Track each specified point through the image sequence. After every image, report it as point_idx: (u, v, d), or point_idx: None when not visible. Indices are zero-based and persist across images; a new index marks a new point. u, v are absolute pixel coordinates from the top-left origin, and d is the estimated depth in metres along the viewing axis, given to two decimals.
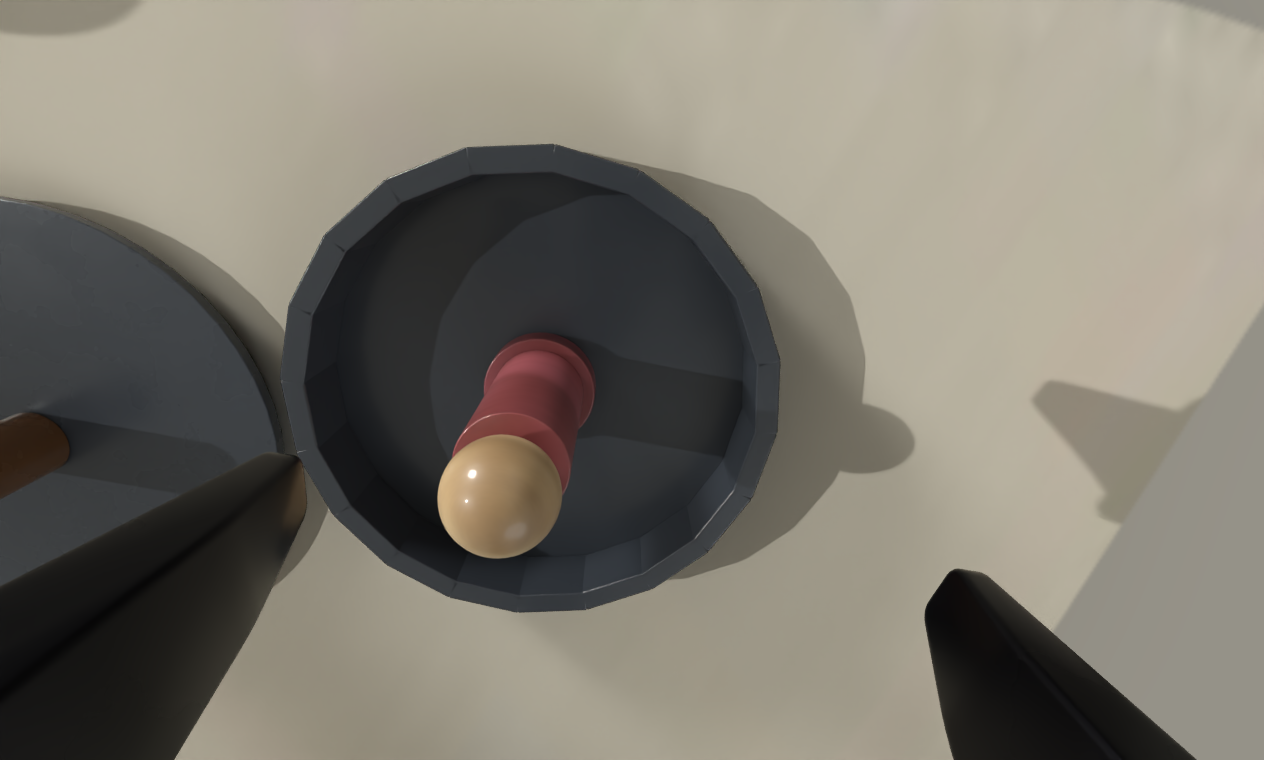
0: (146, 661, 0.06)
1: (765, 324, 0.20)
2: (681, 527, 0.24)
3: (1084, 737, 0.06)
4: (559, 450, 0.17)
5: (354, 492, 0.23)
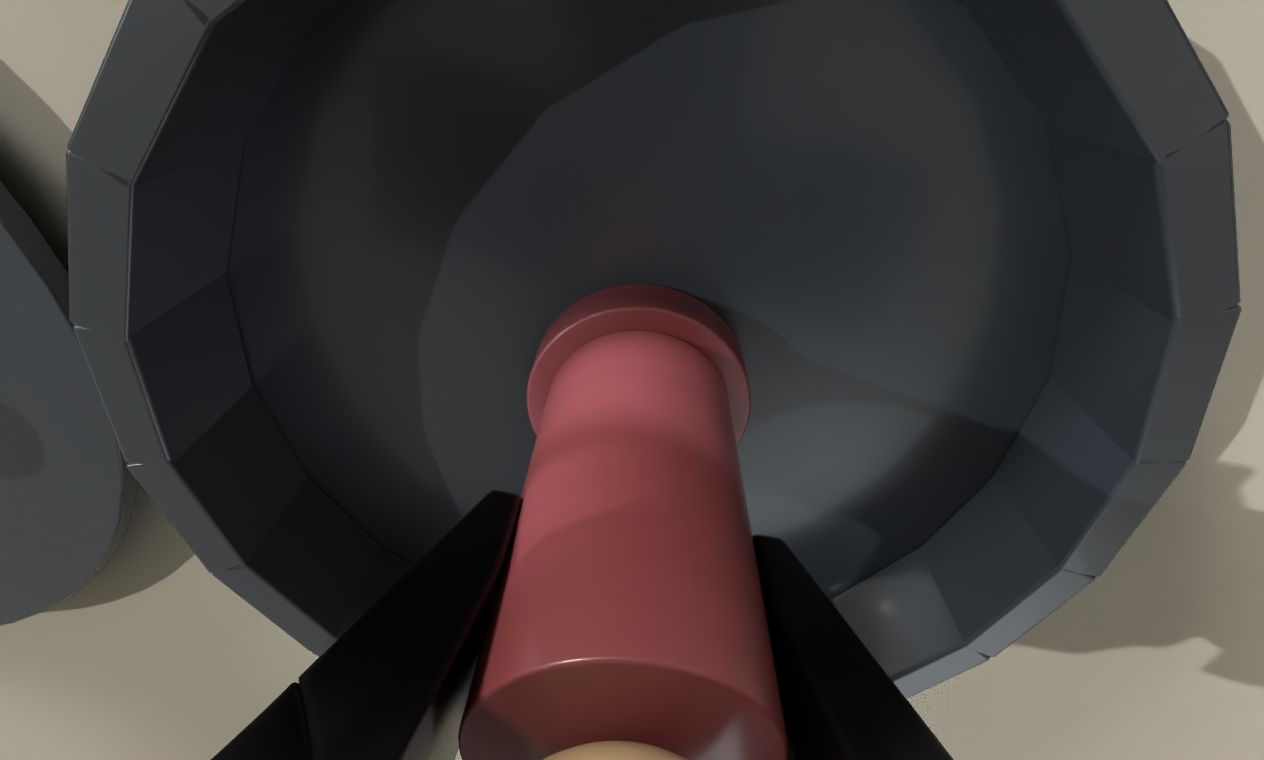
0: (451, 705, 0.06)
1: (1206, 387, 0.09)
2: None
3: (811, 696, 0.06)
4: (769, 752, 0.06)
5: (255, 532, 0.12)
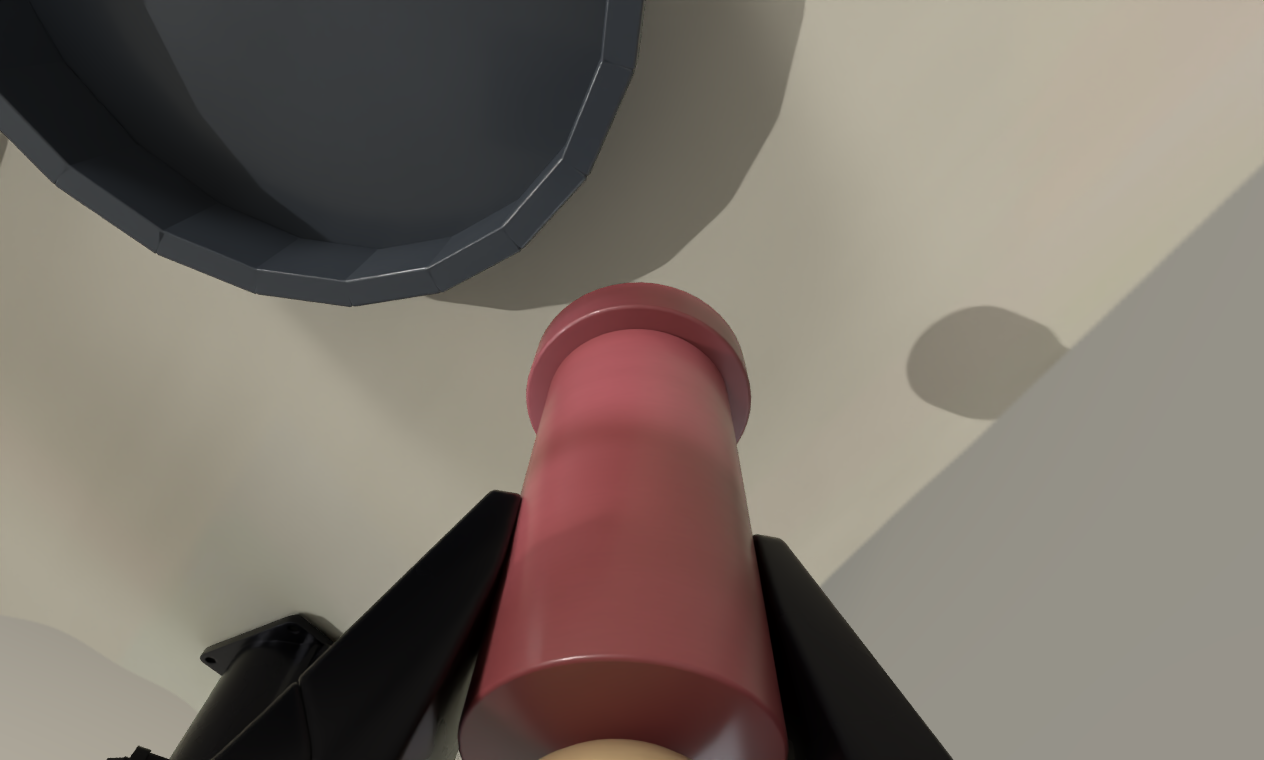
0: (451, 705, 0.06)
1: None
2: (497, 218, 0.17)
3: (811, 696, 0.06)
4: (768, 750, 0.06)
5: None
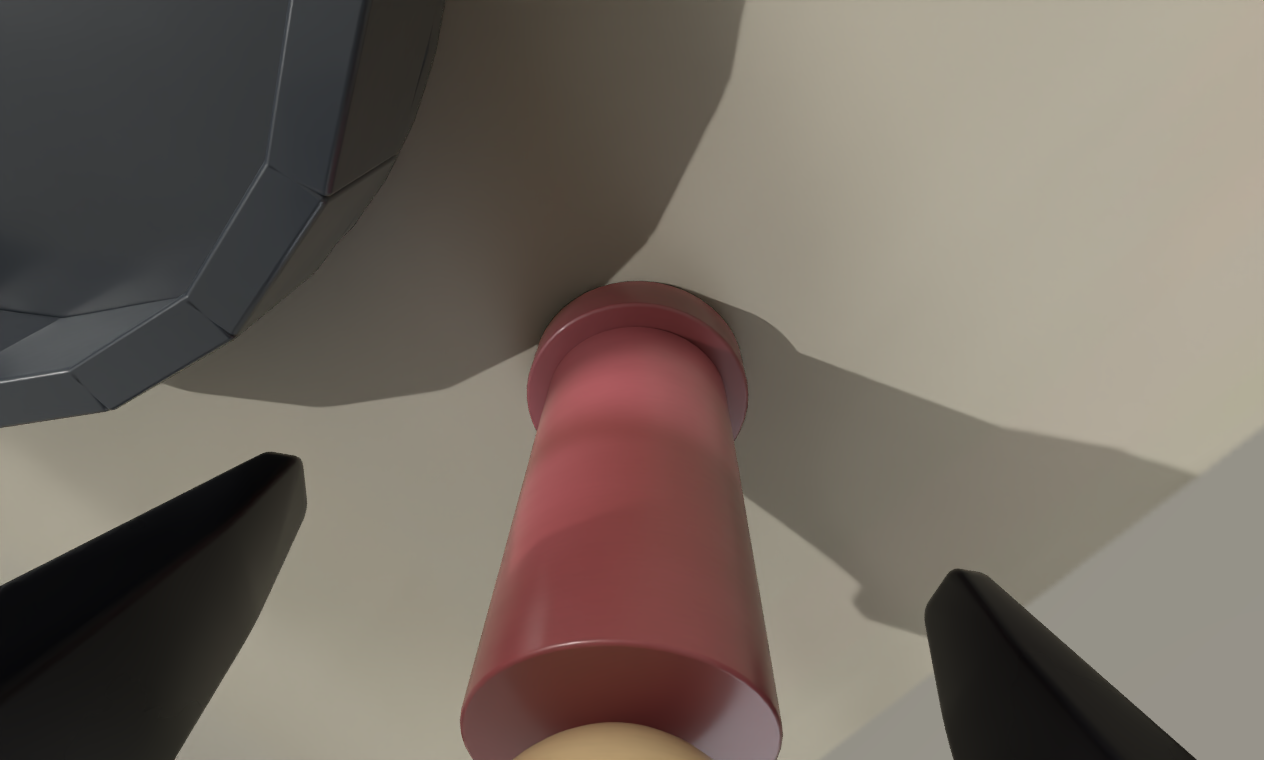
0: (146, 661, 0.06)
1: None
2: None
3: (1084, 737, 0.06)
4: (763, 734, 0.06)
5: None
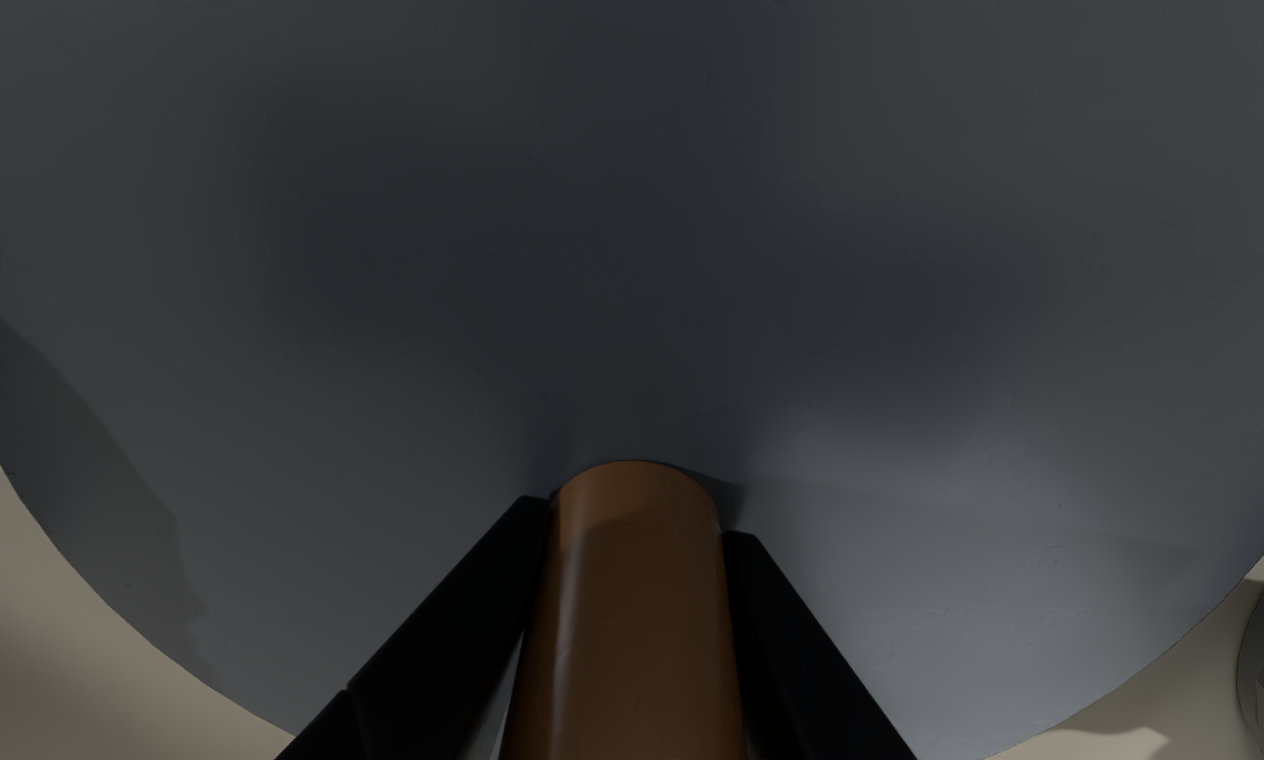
0: (490, 710, 0.06)
1: None
2: None
3: (775, 690, 0.06)
4: None
5: None
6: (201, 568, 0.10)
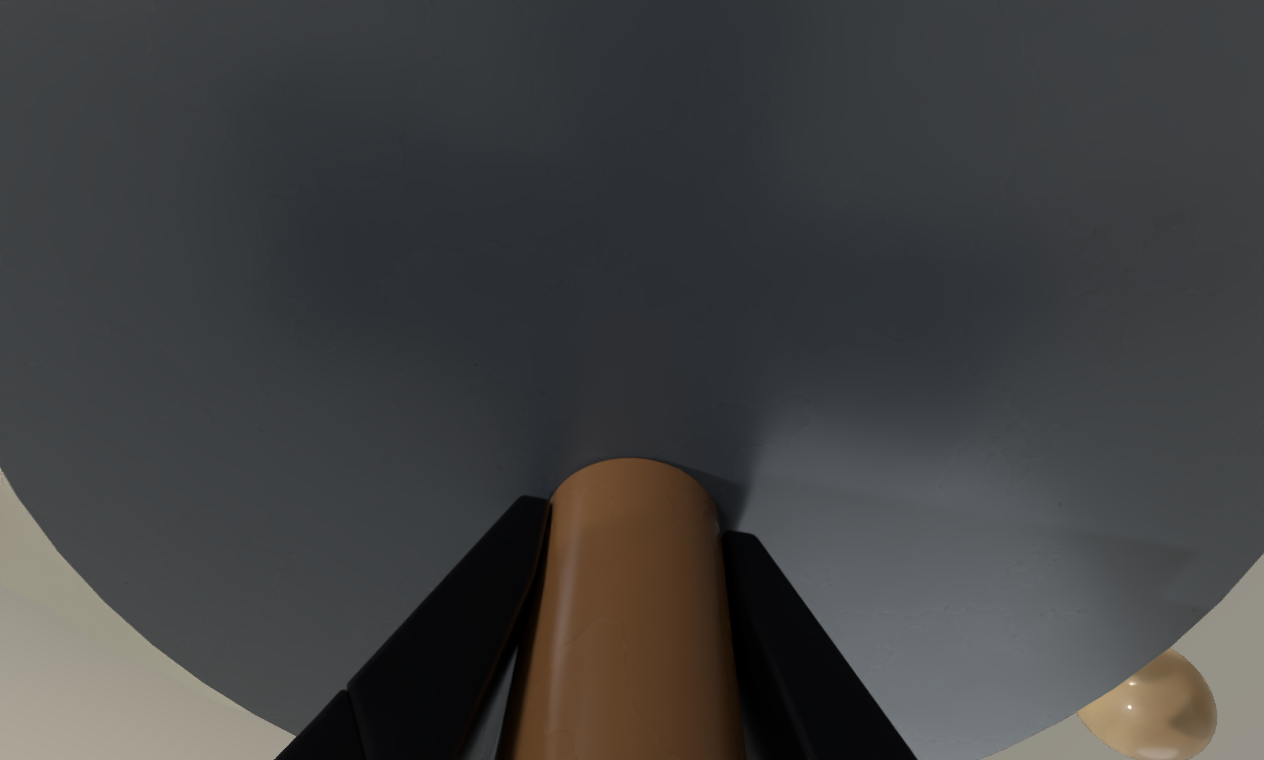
0: (490, 711, 0.06)
1: None
2: None
3: (775, 690, 0.06)
4: None
5: None
6: (199, 566, 0.10)
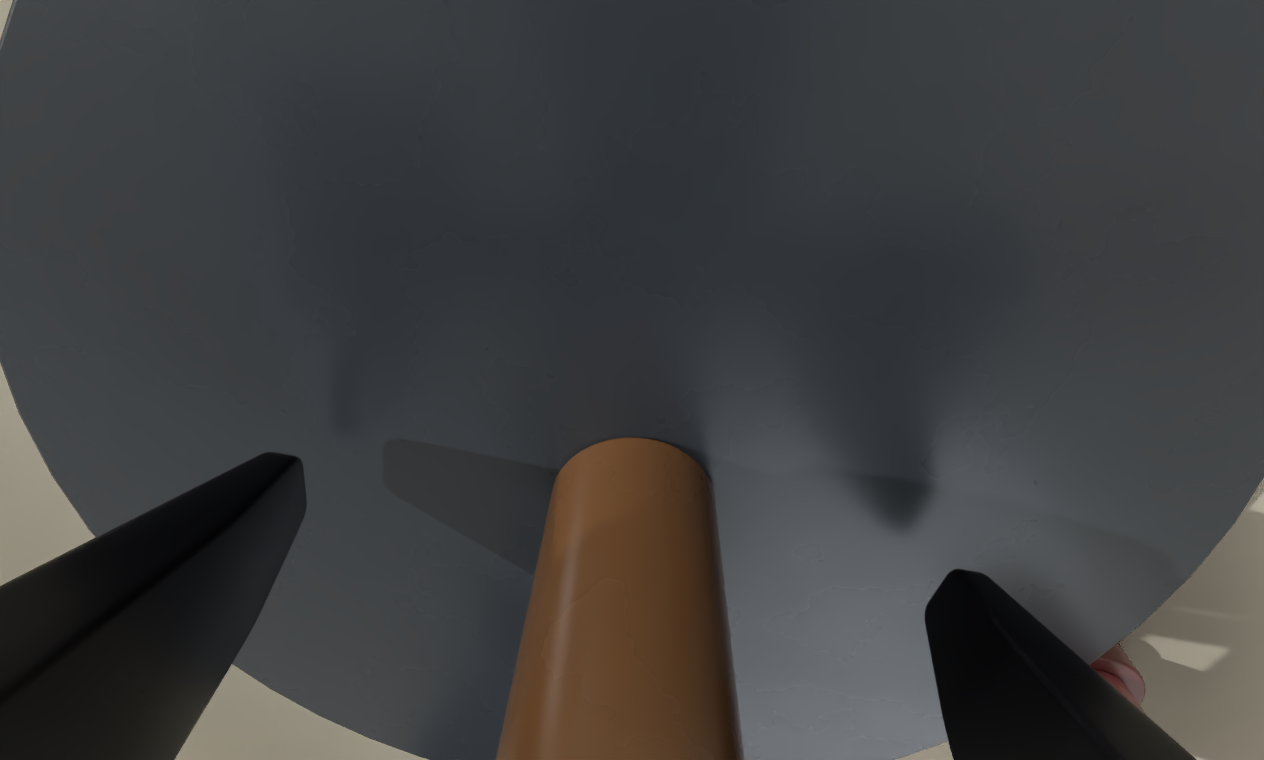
0: (146, 661, 0.06)
1: None
2: None
3: (1084, 737, 0.06)
4: None
5: None
6: None
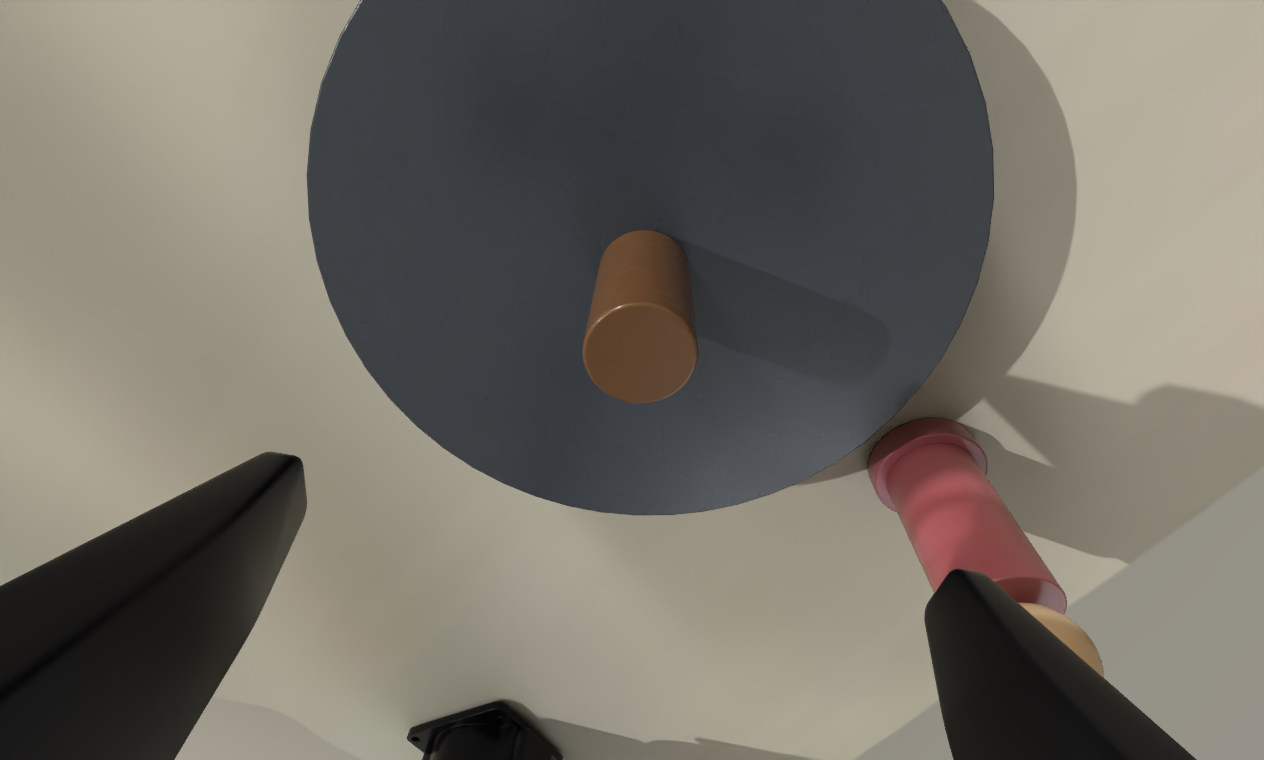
0: (146, 661, 0.06)
1: None
2: None
3: (1084, 737, 0.06)
4: (1060, 610, 0.18)
5: None
6: (406, 308, 0.18)
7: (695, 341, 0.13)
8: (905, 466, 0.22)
